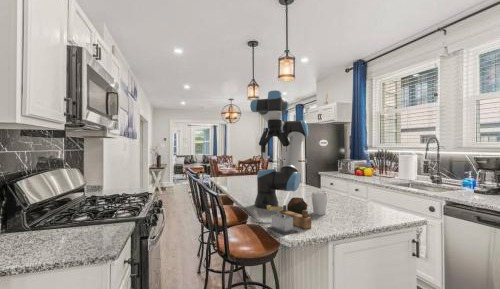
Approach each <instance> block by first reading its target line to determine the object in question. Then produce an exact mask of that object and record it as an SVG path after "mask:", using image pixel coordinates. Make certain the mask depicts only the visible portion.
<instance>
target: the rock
mask: <svg viewBox="0 0 500 289" xmlns="http://www.w3.org/2000/svg"><path fill="white" fill-rule="evenodd" d="M286 206H287V210H288V211H291V212H294V213H298V214H301V215H302V211H303V210H307V211H308V203H307V202H305V199H304V197H303V198H302V197H292V198H291V199H290V200H289V201H288V203H287V205H286Z"/></svg>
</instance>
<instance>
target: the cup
mask: <svg viewBox="0 0 500 289" xmlns="http://www.w3.org/2000/svg"><path fill="white" fill-rule="evenodd" d="M328 195H329V194H328V192H327V191H324V190H323V191H322V190H313V191H311V203H312V204H311V205H312V211H313V214H315V215H320V216H322V215H324V216H325V215H326V214H327V207H328V198H329V197H328Z"/></svg>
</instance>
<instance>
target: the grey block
mask: <svg viewBox="0 0 500 289" xmlns="http://www.w3.org/2000/svg"><path fill="white" fill-rule="evenodd" d="M271 226H272V228H274V229H276V230H279V231H281V232H284V233H286V232H290V231H293V229H294V225H293V217H290V216H287V215H284V214H281V213H279V212H278V213H274V214H271Z"/></svg>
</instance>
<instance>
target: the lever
mask: <svg viewBox="0 0 500 289" xmlns="http://www.w3.org/2000/svg"><path fill="white" fill-rule="evenodd" d="M266 210H271V211H281V210H283V206H279V205H278V206H270V205H267V208H266Z"/></svg>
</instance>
